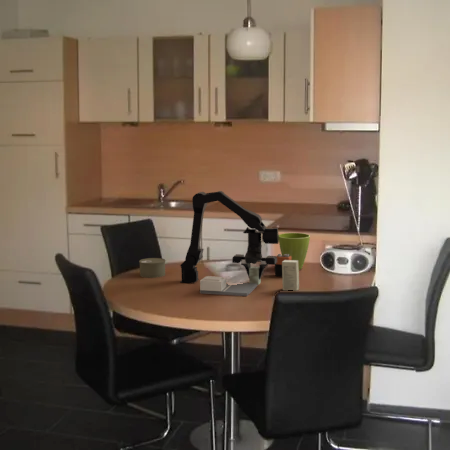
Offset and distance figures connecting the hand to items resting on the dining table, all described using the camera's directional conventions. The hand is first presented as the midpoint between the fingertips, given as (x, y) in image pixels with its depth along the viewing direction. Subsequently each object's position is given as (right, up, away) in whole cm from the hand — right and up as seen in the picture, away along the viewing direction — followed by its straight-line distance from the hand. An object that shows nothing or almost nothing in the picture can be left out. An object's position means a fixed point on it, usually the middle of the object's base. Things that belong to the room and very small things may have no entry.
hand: (254, 278), depth 290 cm
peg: (0, -2, 0) cm, 2 cm away
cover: (-18, -3, -14) cm, 23 cm away
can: (-46, 0, +20) cm, 50 cm away
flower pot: (+20, +2, +28) cm, 35 cm away
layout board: (-11, -4, -10) cm, 15 cm away
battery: (+13, 0, +14) cm, 19 cm away
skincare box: (+14, -4, -11) cm, 19 cm away
